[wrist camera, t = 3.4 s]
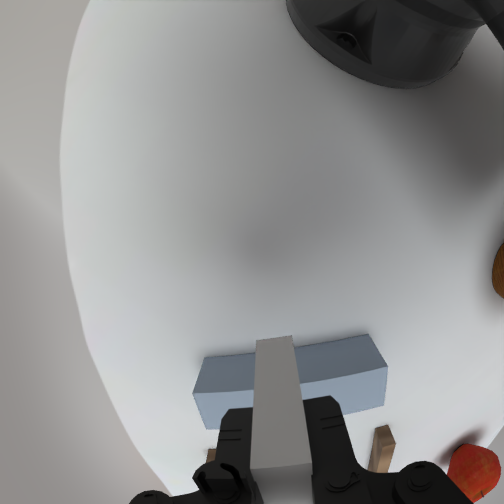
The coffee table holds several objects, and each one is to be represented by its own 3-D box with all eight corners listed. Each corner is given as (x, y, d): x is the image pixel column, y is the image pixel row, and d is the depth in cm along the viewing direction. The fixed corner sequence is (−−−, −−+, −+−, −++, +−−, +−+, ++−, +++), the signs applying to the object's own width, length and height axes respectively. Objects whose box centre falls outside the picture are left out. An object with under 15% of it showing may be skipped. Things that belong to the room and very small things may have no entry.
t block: (204, 357, 24) (192, 393, 19) (368, 333, 23) (387, 366, 18) (228, 432, 26) (223, 469, 21) (364, 414, 25) (376, 448, 20)
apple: (452, 434, 26) (482, 488, 16) (490, 423, 26) (520, 468, 16) (425, 470, 28) (446, 520, 18) (464, 459, 28) (486, 502, 18)
